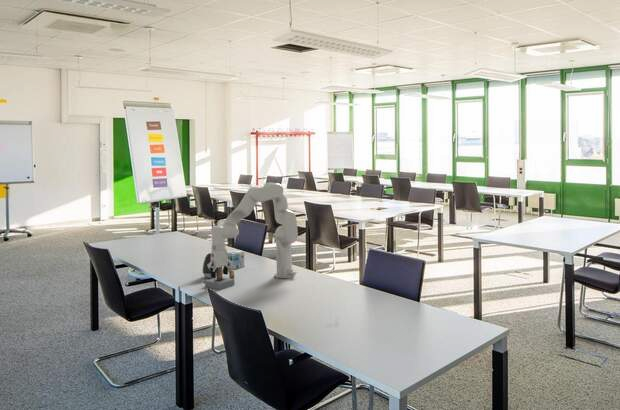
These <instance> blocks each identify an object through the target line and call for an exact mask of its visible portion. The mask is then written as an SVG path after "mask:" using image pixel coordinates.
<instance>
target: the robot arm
mask: <svg viewBox="0 0 620 410" xmlns="http://www.w3.org/2000/svg"><path fill="white" fill-rule="evenodd" d="M284 191H285V190H284V186H282V184H280V183H277V182H271V181H270V182H266V183H264V185H263V186H262V187H258V186H252V187H250V188H248V190H247V191H246V193H245V194H244V196H243V198H242V199H241V201H240V202H239V204H238V205H237V207H236V208H235V209H233V211H231V213H229V215H228V216H227V217H226V219H224V221H223V223H222V224H221V225H214V226H212V227H211V247H210V249H211V252H210V253H211V262H210V263H209V264H208V265H207V266H208V269H209V270H210V271H211V278H210V279H212V278H216V277H217V276H216V273H215V269H216V268H219V267H222V275H225V276H229V268H228V266H229V264H230V259H228V255H227V252H228V251H227V248H226V239H235V238H237V237H238V236H239V234H240V229H239V228H238V226H237V224H238V223H239V222H240V221H241V220H242V219H244V218H247V217H248V216H250V215H251V213H252V212H253V210H254V208H255V207H256V205H257V204H258V203H264V202H268V201H270V200H272V202H273V209H274V210H273V211H274V219H275V221H276V223H277V224H279V226H278V227H277V228H276V229H275V231H274V239H275V247H276V253H275V254H276V256H275V257H276V273H274V277H275V278H277V279H290V278H293V277H295V276H296V275H297V271H294V268H293V258H292V257H293V253H292V251H293V247H292V244H295V242H296V241H297V240H298V236H299V232H298V230H299V229H298V221H297V216H296V214H295V213H294V212H293V211H292V210H290V209H289V204H288V198H287V196H286V194H285V192H284Z"/></svg>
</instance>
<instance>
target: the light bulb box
mask: <svg viewBox="0 0 620 410" xmlns="http://www.w3.org/2000/svg"><path fill="white" fill-rule="evenodd" d="M227 255H228V259H230V264H229V266H228V270H236V269H240V268H244V267H245V251H244V250H239V249H236V250H232V251H227Z"/></svg>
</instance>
